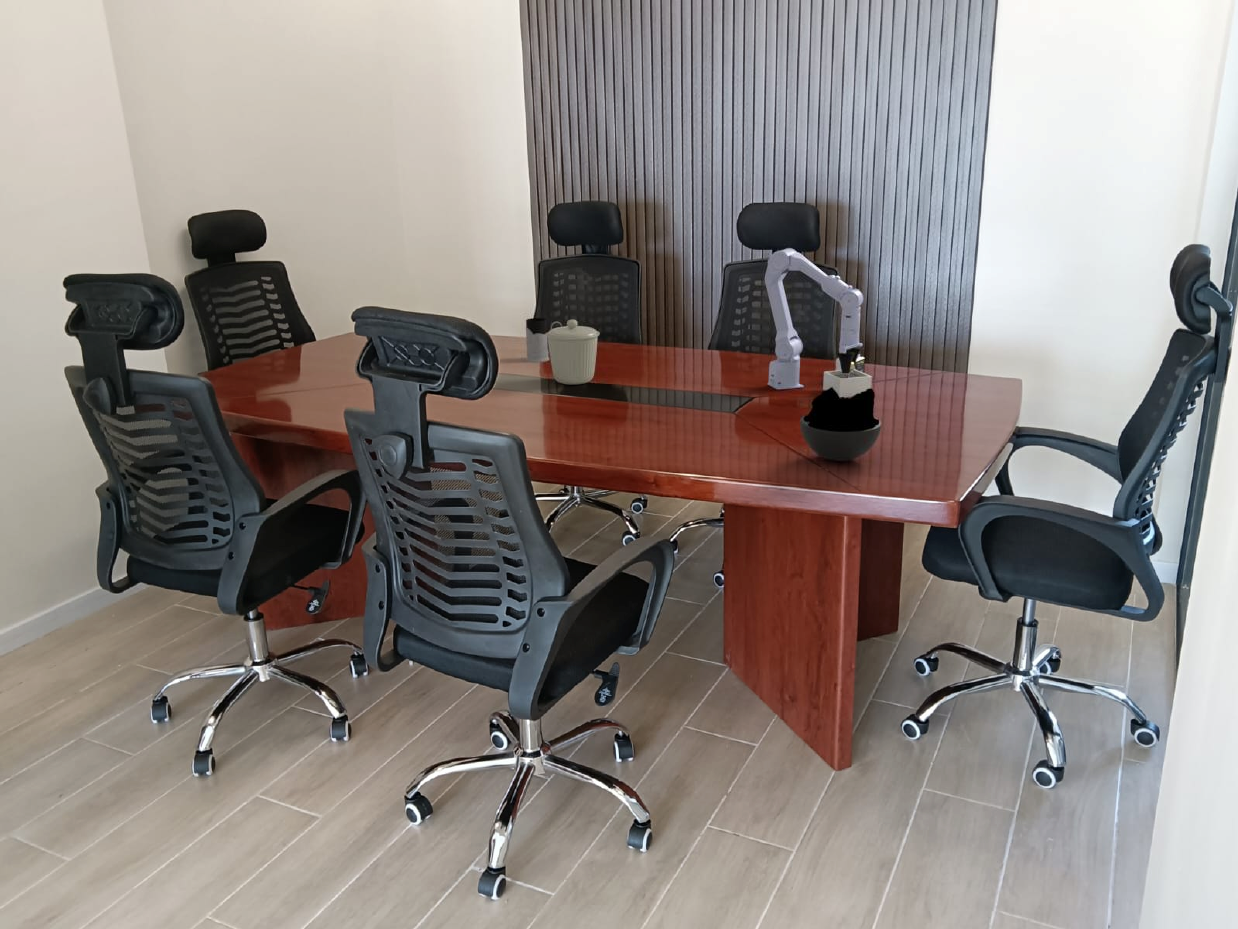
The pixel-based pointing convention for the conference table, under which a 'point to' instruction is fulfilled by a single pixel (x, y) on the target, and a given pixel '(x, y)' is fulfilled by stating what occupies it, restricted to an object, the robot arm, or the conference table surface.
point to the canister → (573, 353)
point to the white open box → (847, 383)
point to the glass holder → (537, 340)
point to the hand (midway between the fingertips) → (847, 371)
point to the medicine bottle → (858, 365)
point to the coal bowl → (841, 425)
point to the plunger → (848, 373)
